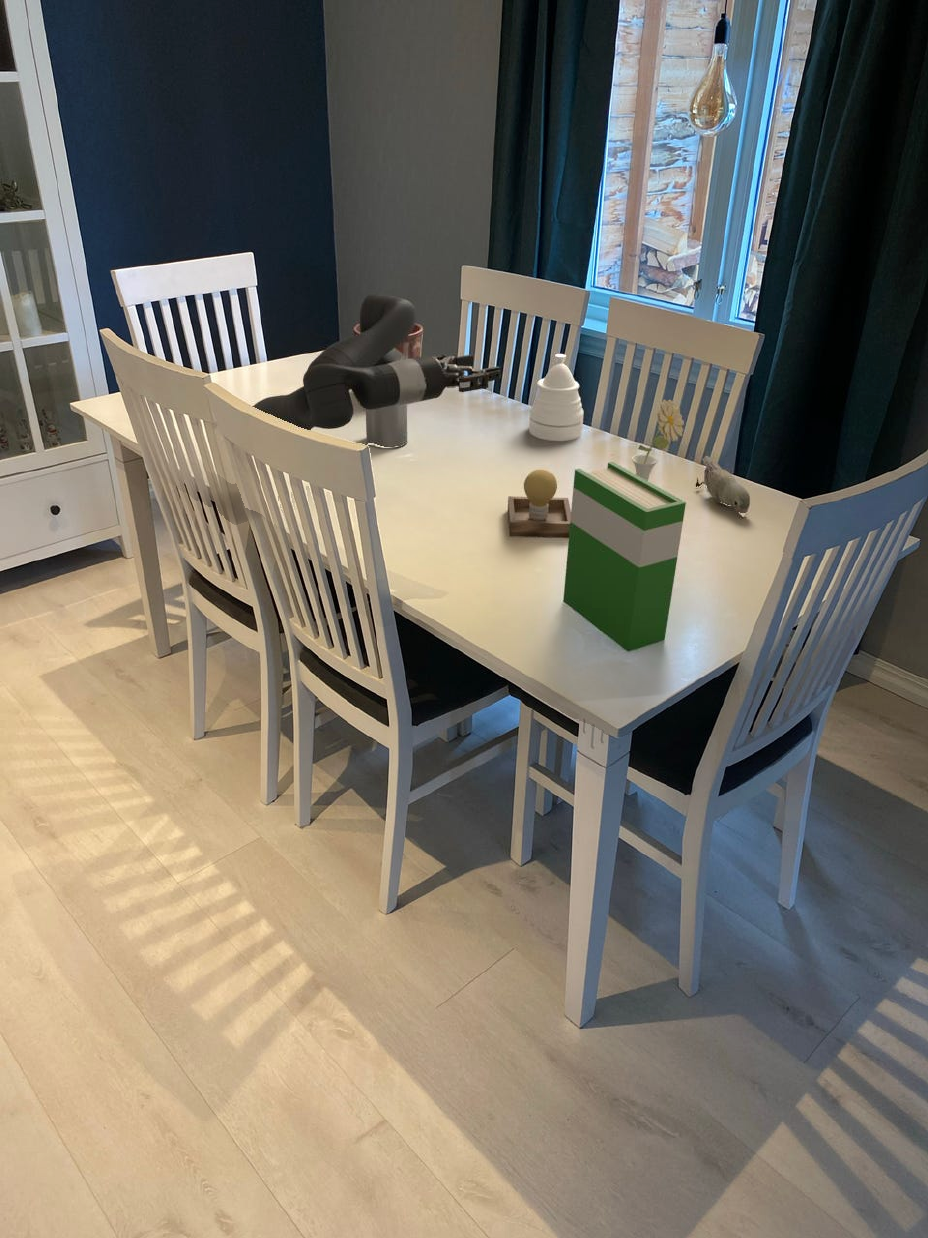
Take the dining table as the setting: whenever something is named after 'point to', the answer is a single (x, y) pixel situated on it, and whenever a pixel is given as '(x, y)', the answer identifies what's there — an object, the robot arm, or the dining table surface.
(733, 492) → the decorative bird
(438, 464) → the dining table surface
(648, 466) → the flower in vase
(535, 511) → the light bulb
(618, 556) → the hardback book
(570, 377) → the honey pot
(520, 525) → the walnut tray
